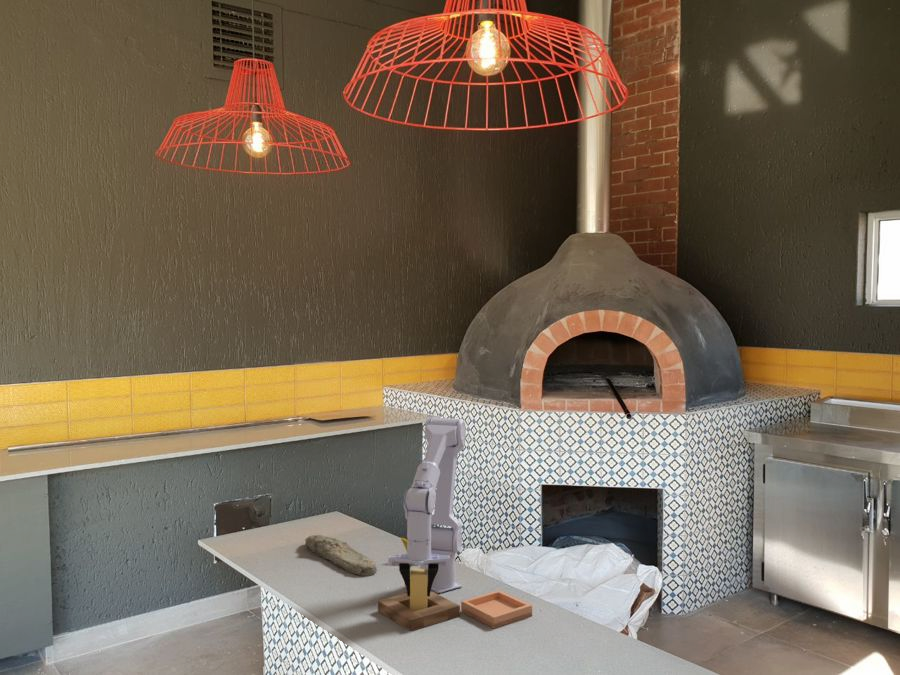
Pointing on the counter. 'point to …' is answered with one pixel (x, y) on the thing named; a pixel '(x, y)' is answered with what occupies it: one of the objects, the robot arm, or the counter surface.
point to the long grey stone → (341, 554)
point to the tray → (496, 608)
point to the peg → (418, 589)
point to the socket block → (413, 620)
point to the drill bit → (404, 542)
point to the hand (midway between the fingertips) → (418, 594)
